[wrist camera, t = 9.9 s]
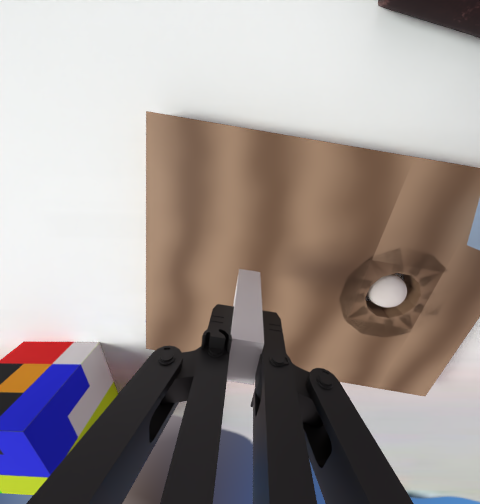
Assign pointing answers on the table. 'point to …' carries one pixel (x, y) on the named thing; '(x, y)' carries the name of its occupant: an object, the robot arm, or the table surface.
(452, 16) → the diary
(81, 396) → the puzzle toy
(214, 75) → the table surface
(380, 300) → the ball
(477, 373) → the table surface
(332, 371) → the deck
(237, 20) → the table surface
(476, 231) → the blue block
